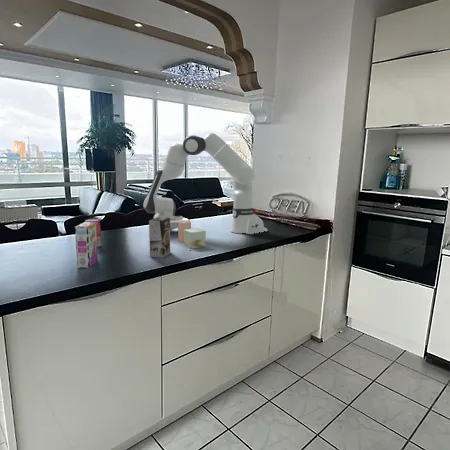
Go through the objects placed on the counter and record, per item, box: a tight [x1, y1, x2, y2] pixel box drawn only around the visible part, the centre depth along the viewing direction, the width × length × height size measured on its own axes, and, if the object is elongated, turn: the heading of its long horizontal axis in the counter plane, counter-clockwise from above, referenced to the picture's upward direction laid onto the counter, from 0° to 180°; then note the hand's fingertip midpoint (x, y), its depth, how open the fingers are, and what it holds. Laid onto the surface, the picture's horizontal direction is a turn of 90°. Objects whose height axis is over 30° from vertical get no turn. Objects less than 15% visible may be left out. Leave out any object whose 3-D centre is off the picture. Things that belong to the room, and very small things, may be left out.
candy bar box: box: [74, 221, 99, 269], centre depth 132 cm, size 11×5×16 cm, turn 5°
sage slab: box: [183, 227, 207, 241], centre depth 164 cm, size 8×8×4 cm
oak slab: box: [182, 238, 206, 249], centre depth 164 cm, size 8×8×4 cm
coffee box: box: [148, 217, 171, 259], centre depth 147 cm, size 9×6×16 cm
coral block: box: [177, 221, 192, 243], centre depth 174 cm, size 5×5×10 cm
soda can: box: [84, 218, 103, 248], centre depth 160 cm, size 7×7×13 cm
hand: (177, 226), depth 181 cm, fingers open, 8 cm apart
